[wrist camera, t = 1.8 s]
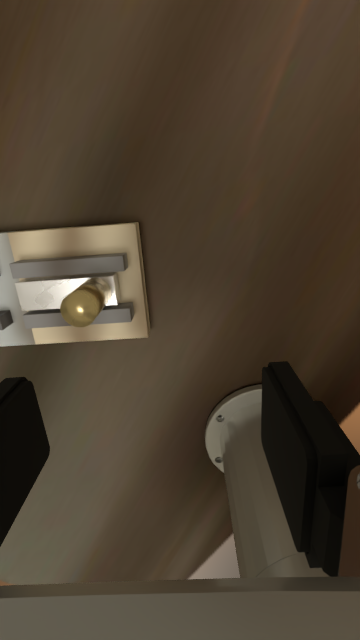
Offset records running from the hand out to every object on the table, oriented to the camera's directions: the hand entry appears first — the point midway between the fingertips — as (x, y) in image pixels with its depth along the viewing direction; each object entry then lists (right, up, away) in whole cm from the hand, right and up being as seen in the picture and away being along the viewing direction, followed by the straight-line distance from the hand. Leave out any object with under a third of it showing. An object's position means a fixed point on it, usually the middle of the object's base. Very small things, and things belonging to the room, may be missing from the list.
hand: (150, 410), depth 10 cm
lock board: (-13, +6, +19) cm, 24 cm away
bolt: (-8, +6, +17) cm, 20 cm away
